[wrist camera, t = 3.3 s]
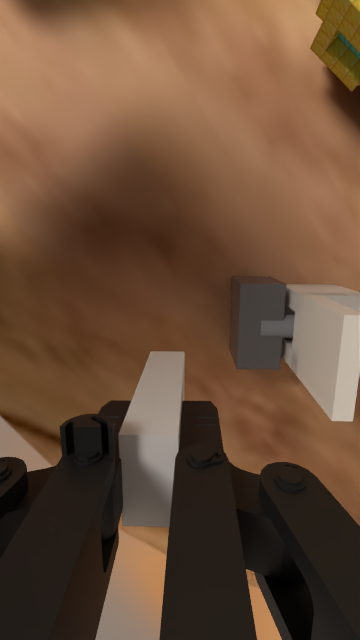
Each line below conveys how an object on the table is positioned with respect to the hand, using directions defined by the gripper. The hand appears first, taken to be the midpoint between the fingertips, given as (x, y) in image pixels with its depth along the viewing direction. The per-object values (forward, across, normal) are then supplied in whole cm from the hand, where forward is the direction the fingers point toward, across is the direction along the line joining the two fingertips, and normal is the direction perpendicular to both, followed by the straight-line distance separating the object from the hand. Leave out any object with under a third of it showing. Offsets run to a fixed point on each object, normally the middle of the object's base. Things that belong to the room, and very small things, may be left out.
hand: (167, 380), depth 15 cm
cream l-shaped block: (+12, +10, 0) cm, 15 cm away
